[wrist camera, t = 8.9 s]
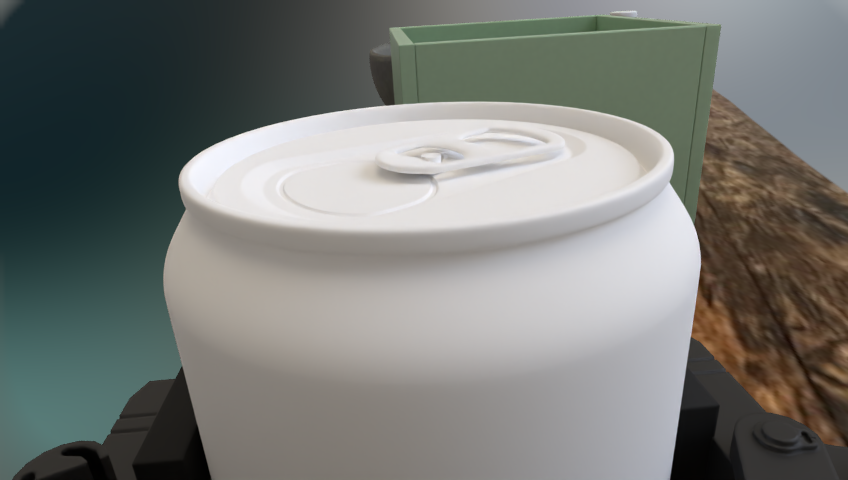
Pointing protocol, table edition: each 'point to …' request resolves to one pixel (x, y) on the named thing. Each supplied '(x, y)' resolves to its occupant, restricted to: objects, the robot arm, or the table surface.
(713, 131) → the table surface
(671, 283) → the beverage can
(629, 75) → the open storage box
